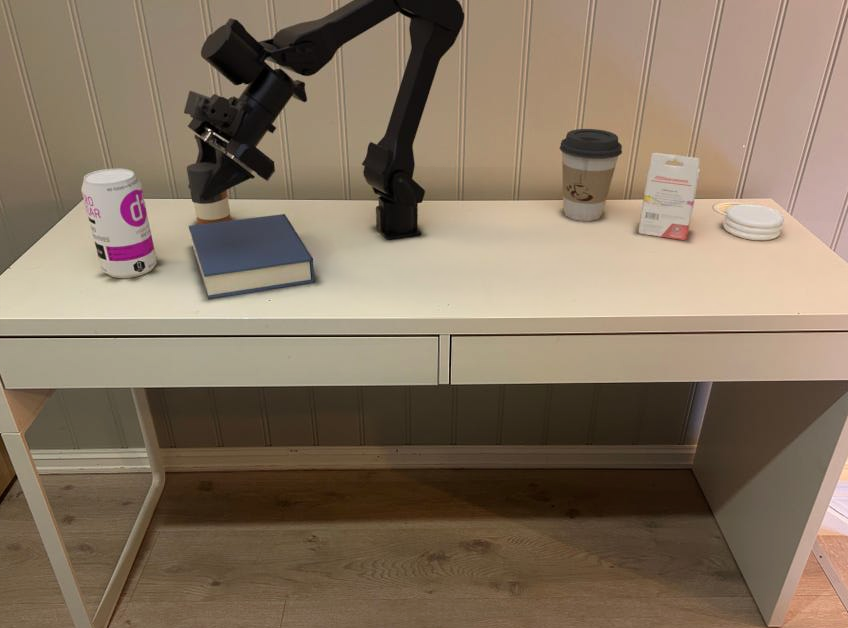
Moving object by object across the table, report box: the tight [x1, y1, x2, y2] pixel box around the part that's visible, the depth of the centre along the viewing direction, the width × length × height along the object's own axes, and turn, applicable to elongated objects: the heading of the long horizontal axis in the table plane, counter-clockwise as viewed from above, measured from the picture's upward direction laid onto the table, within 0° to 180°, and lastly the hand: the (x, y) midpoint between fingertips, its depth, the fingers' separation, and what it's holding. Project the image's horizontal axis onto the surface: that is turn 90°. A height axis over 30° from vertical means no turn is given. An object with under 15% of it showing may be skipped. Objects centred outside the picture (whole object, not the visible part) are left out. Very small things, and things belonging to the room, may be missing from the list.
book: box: [188, 213, 316, 300], centre depth 117 cm, size 16×20×4 cm
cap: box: [186, 162, 222, 204], centre depth 106 cm, size 4×4×5 cm
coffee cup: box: [559, 128, 623, 222], centre depth 136 cm, size 11×11×15 cm
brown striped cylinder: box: [193, 190, 232, 225], centre depth 130 cm, size 6×6×9 cm
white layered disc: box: [722, 203, 785, 241], centre depth 134 cm, size 10×10×4 cm
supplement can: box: [81, 168, 158, 279], centre depth 112 cm, size 8×8×15 cm
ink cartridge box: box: [638, 152, 701, 241], centre depth 129 cm, size 9×5×15 cm, turn 68°
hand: (196, 194), depth 106 cm, fingers closed on cap, 4 cm apart
